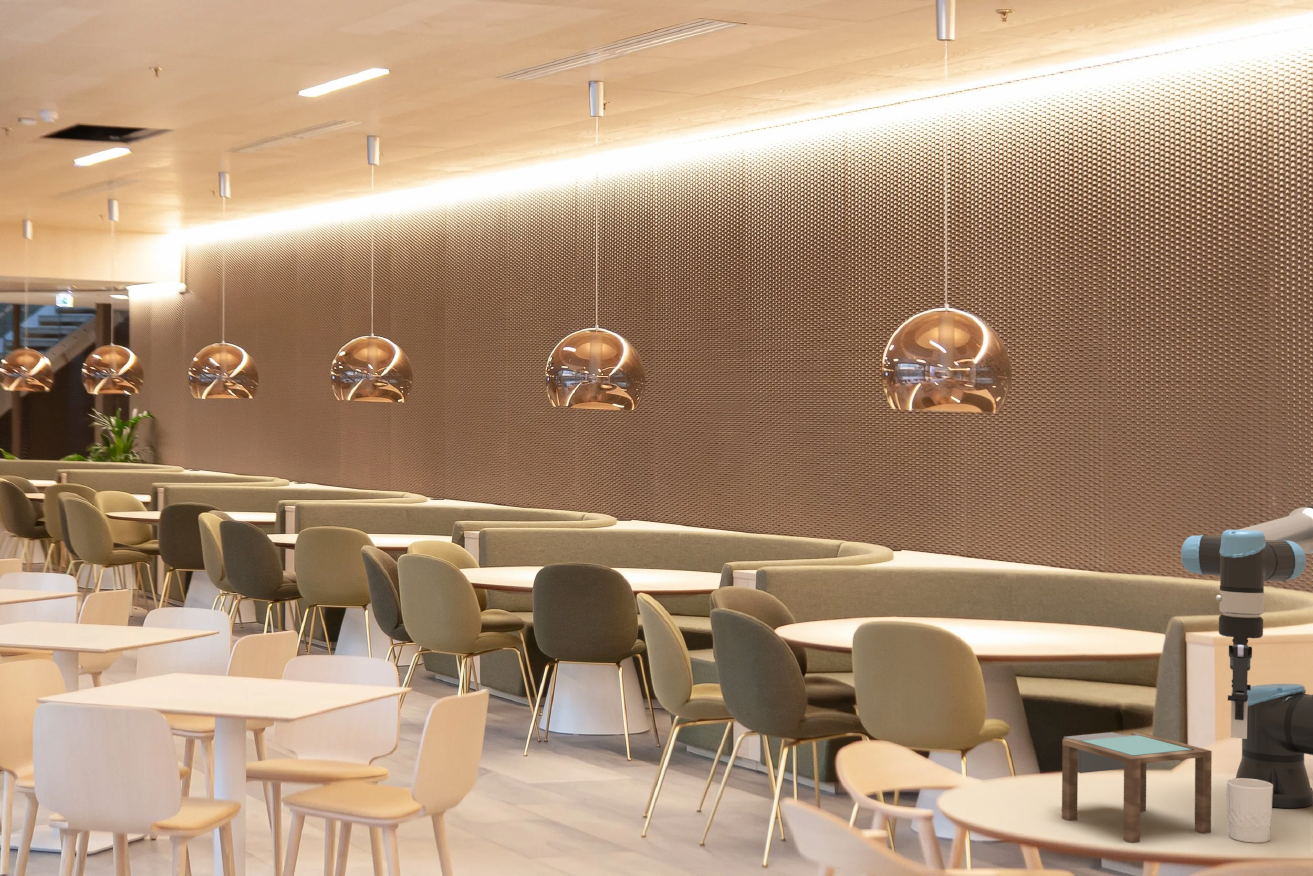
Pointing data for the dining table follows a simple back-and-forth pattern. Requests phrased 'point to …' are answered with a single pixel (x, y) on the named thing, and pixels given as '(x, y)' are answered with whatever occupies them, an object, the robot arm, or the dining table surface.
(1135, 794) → the frame
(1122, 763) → the trapdoor
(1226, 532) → the robot arm
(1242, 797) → the white cup
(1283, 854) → the dining table surface
